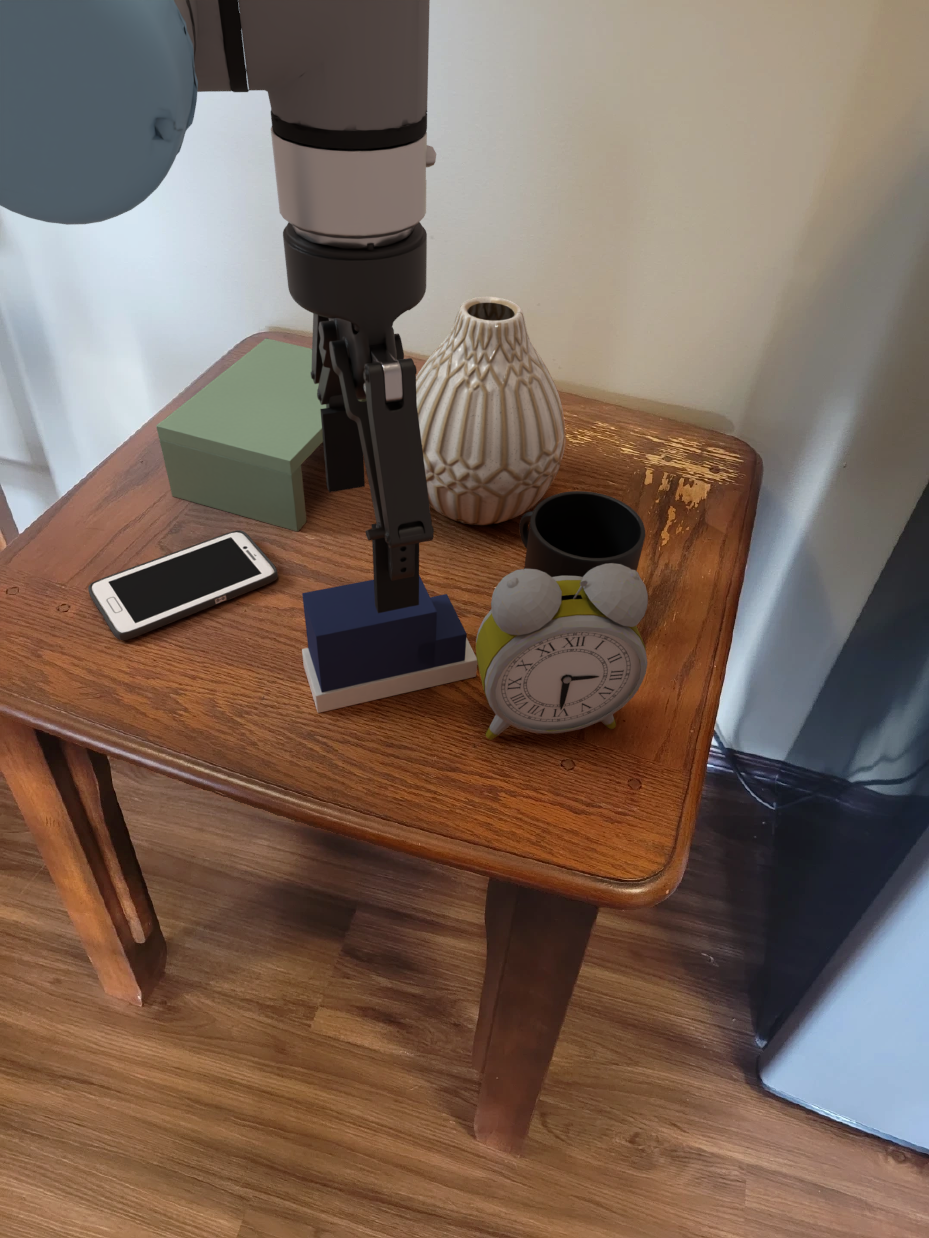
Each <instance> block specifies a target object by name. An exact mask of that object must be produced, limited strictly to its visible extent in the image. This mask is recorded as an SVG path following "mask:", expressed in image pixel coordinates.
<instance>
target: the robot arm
mask: <svg viewBox="0 0 929 1238" xmlns="http://www.w3.org/2000/svg"><path fill="white" fill-rule="evenodd" d="M430 3H431V2H430V0H0V207H2V208H4V209H6V210H8V211H10V212H12V213H15V214H18V215H20V216H23V217H25V218H29V219H33V220H36V221H41V222H44V223H50V224H59V225H60V224H61V225H68V226H69V225H88V224H89V225H90V224H95V223H96V224H97V223H102V222H105V221H108V220H110V219H114V218H116V217H118V216H121V215H122V214H126V213H128V212H130V211H132V210H133V209H135V208H136V207H138V206H139V205H140V204H142V203H143V202H144V201H146V200H147V198H149V197H150V196H151V195H152V194H153V193H154V192H155V191H156V190H157V189H158V188H159V187H160V186H161V184H162V182H163V181H164V180H165V178H166V177H167V176H168V174H169V172H170V170H171V168H172V167H173V164H174V163H175V161H176V157H177V155H178V154H179V153H180V152H181V150H182V146H183V143H184V140H185V136H186V132H187V130H189V128H190V127H191V126H192V125H193V122H194V120H195V115H196V114H195V113H196V107H197V101H198V93H205V92H206V93H207V92H209V93H211V92H213V93H214V92H215V93H216V92H233V93H249V92H250V91H265V92H267V95H268V100H269V104H270V120H271V127H270V135H271V145H272V155H273V164H274V173H275V183H276V190H277V191H276V192H277V193H276V194H277V202H278V211H279V214H280V215H281V217H282V218H283V219H284V220H285V222H287V223H286V225H285V226H284V228H283V231H282V239H283V249H284V259H285V260H284V261H285V269H286V278H287V279H286V281H287V288H288V293H289V294H290V297H291V299H293V300H294V302H295V303H296V304H297V305H298V306H299V307H301V308H302V309H303V310H306V311H307V312H309V313H312V337H311V338H312V342H311V344H312V345H311V349H312V368H311V369H312V372H311V379H313V381H314V384H318V383H319V386H318V389H317V392H318V393H317V398H318V400H319V401H320V403H321V405H324V404H326V408H324V409H320V410H321V422H322V434H323V442H322V445H323V456H324V457H323V458H324V465H325V466H324V468H325V480H326V488H327V491H328V493H334V492H340V491H346V490H352V489H358V488H365V487H366V485H365V483H366V482H365V480H366V479H365V470H366V476H367V481H368V486H369V492H370V496H371V501H372V507H373V512H374V516H375V522H376V523H371V525H370V526H371V528H369V529H366V530H365V532H364V533H365V536H366V538H367V541H371V545H372V547H371V548H372V568H373V569H372V570H373V572H372V573H373V580H374V595H375V607H376V609H377V612H378V613H382V612H387V611H392V610H397V609H402V608H406V607H411V606H416V605H419V575H420V544H421V543H425V542H431V541H433V540H434V538H435V537H434V533H435V531H434V530H435V529H434V526H433V521H432V515H431V507H430V505H429V497H428V489H427V482H426V474H425V466H424V458H423V450H422V442H421V434H420V426H419V419H418V411H417V397H416V376H417V374H418V373H417V372H418V371H417V370H418V369H417V366H416V365H415V362H414V359H413V358H412V357H408V358H405V353H404V352H405V351H404V346H403V341H402V338H401V335H400V334H399V333H395V329H394V328H393V326H394V322H395V321H396V320H397V319H398V318H399V317H400V316H401V315H403V314H404V313H407V311H411V310H413V309H414V308H415V307H416V306H418V304H420V302H421V301H422V300H423V298H424V297H425V294H426V291H427V268H428V267H427V265H428V264H427V263H428V262H427V257H428V233H427V230H426V229H425V227H424V226H423V225H422V223H421V221H422V220H423V219H424V218H425V216H426V214H427V168H430V167H433V166H434V165H435V163H436V160H437V152H436V150H435V148H434V147H433V146H431V145H429V144H428V133H427V130H428V92H429V90H428V89H429V47H430V45H429V44H430ZM361 399H367V401H365V402H361V401H359V400H361Z"/></svg>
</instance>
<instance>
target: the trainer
mask: <svg viewBox="0 0 929 1238" xmlns="http://www.w3.org/2000/svg"><path fill="white" fill-rule="evenodd" d="M301 596H302V606H303V611H304V612H303V614H304V622H305V631H306V632H305V633H306V640H307V646H308V647H305V648H301V654H302V655H301V656H302V662H303V668H304V672H305V675H306V679H307V681H308V686H309V689H310V692H311V695H312V699H313V702H314V706H315V709H316V712H317V714H319V713H323V712H328V711H333V710H337V709H341V708H345V707H351V706H354V705H358V704H363V703H367V702H371V701H376V700H380V699H386V698H389V697H392V696H393V697H394V696H397V695H402V694H406V693H411V692H415V691H419V690H423V689H427V688H432V687H437V686H441V685H445V684H449V683H454V682H458V681H462V680H467V679H471V678H476V677H477V669H478V663H477V658H476V653H475V652H474V650H473V647H472V646H471V644H470V641H469V639H468V638H467V637H468V636H467V635H468V634H467V633H468V632H467V631H466V629H465V627H464V625H463V624H462V623H463V622H462V621H461V619H460V617H459V615H458V613H457V611H456V610H455V608H454V605H453V603H452V600H451V599H450V597H449V596H448V594H447V593H445V594H440V595H435V596H430V594H429V592H428V590H427V588H426V586H425V583H424V581H423V580H422V578H421V575H420V574H419V605H416V606H411V607H406V608H402V609H397V610H392V611H387V612H382V613H378V612H377V609H376V607H375V595H374V579H370V580H364V581H358V582H353V583H348V584H343V585H338V586H332V587H327V588H323V589H317V590H312V591H307V592H302V594H301Z"/></svg>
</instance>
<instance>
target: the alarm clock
mask: <svg viewBox="0 0 929 1238" xmlns="http://www.w3.org/2000/svg"><path fill="white" fill-rule="evenodd" d="M648 599H649V594H648V590H647V587H646V584H645V582H644V581H643V579H642V578H641V576H640V574H639V572H638V570H637V571H636V570H631V569H630V568H628V567H626V566H624V565H621V564H614V563H609V564H603V565H600V566H597V567H595V568H593V569H591V570H589V571H588V572H587V573H586V574H585V575H584V576H583V577H579V576H556V577H551V576H549V575H548V574H547V573H545V572H542V571H540V570H537V569H524V568H521V569H516V570H514V571H512V572H510V573H508V574H507V575H505V576H503V577H502V578H501V580H500V581H499V582H498V584H497V585H496V586H495V587H494V590H493V592H492V596H491V600H490V601H491V602H490V607H491V609H490V610H489V611H488V612H487V614H486V615H485V616H484V618H483V620H482V622H481V624H480V625H479V628H478V629H477V634H476V640H475V656H476V658H477V668H478V671H479V676H480V680H481V684H482V685H481V686H482V689H483V693H484V696H485V699H486V701H487V703H488V704H489V707H490V709H491V710H492V711H493V713H494V714H495V715H494V717H493V719H492V721H491V722H490V725H489V726H488V728H487V730H486V732H485V737H486V738H487V739H488V740H490V741H493V740H494V739H496V738H497V737H498V736H500V735H501V734H502V733H503V732H504V731H506V730H507V729H508V728H509V727H511V726H513V727H515V728H517V729H518V730H522V731H526V732H529V733H535V734H560V733H561V734H562V733H567V732H574V731H578V730H582V729H585V728H587V727H591V726H593V725H595V724H598V723H600V722H601V723H602V724H603V725H604V726H605V727H606V728H607V729H609V730H613V729H615V728H616V726H617V723H616V718H615V716H614V714H615V713H617V712H618V711H620V710H621V709H622V708H623V707H625V706H626V705H627V704H628V703H629V702H630V701H631V700H632V699H633V698H634V697H635V695H636V694H637V693H638V691H639V689H640V688H641V686H642V683H643V681H644V679H645V676H646V674H647V668H648V656H647V650H646V645H645V642H644V641H643V640H644V639H643V638H642V636H641V633H640V631H639V629H638V624H639V623H640V622H641V621H642V619H643V618H644V617H645V615H646V611H647V609H648V604H649V600H648Z"/></svg>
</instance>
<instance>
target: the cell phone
mask: <svg viewBox="0 0 929 1238" xmlns="http://www.w3.org/2000/svg"><path fill="white" fill-rule="evenodd" d="M278 573H279V572H278V569H277V566H276V565H275V564H274V563H273V562H272V561H271V560H270V558H269V557H268V556H267V555H266V553H264V551H263V550H262V549H261V548H260V546H258V544H257V543H256V542H255V541H254V540H253V539H252V538H251V536H250V535H249V534H248V533H246V532H245V531H243V530H241V529H236V530H232V531H229V532H226V533H223V534H221V535H217V536H215V537H213V538H209V539H206V540H203V541H201V542H198V543H196V544H193V545H190V546H187V547H183V548H182V549H179V550H177V551H173V552H171V553H167V554H164V555H162V556H159V557H156V558H154V559H151V560H149V561H146V562H143V563H140V564H137V565H134V566H132V567H129V568H127V569H123V570H121V571H118V572H115V573H112V574H110V575H107V576H104V577H102V578H99V579H97V580H95V581H92V582H91V583H90V584H89V585H88V587H87V589H88V593H89V596H90V598H91V599H90V600H91V601H92V602H93V603H94V605H95V607H96V608H97V611H99V612H100V613H101V616H102V617H103V619H104V621H105V623H106V625H107V626H108V628H109V630H110V631H111V633H112V634H113V636H114V637H115V638H116V639H117V640H120V641H128V640H131V639H134V638H137V637H139V636H142V635H145V634H146V633H149V632H151V631H155V630H156V629H159V628H161V627H165V626H167V625H169V624H172V623H174V622H177V621H179V620H182V619H184V618H186V617H189V616H191V615H195V614H196V613H199V612H201V611H203V610H206V609H208V608H211V607H214V606H216V605H219V604H221V603H223V602H225V601H229V600H232V599H234V598H237V597H239V596H242V595H244V594H247V593H249V592H252V591H254V590H256V589H259V588H262V587H264V586H266V585H269V584H272V583H273V582H274V581H276V580H277V579H278V578H279V574H278Z"/></svg>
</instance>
